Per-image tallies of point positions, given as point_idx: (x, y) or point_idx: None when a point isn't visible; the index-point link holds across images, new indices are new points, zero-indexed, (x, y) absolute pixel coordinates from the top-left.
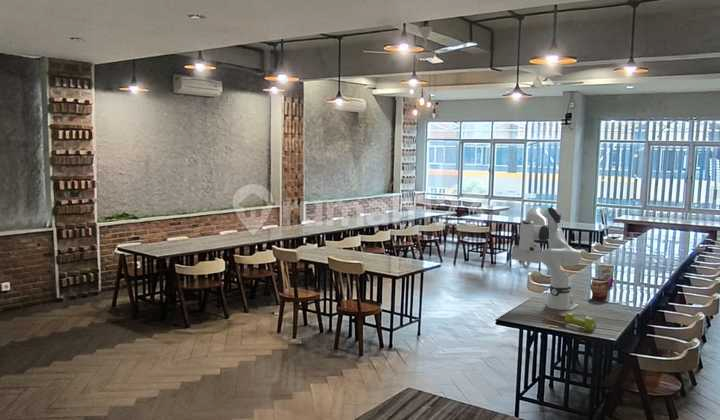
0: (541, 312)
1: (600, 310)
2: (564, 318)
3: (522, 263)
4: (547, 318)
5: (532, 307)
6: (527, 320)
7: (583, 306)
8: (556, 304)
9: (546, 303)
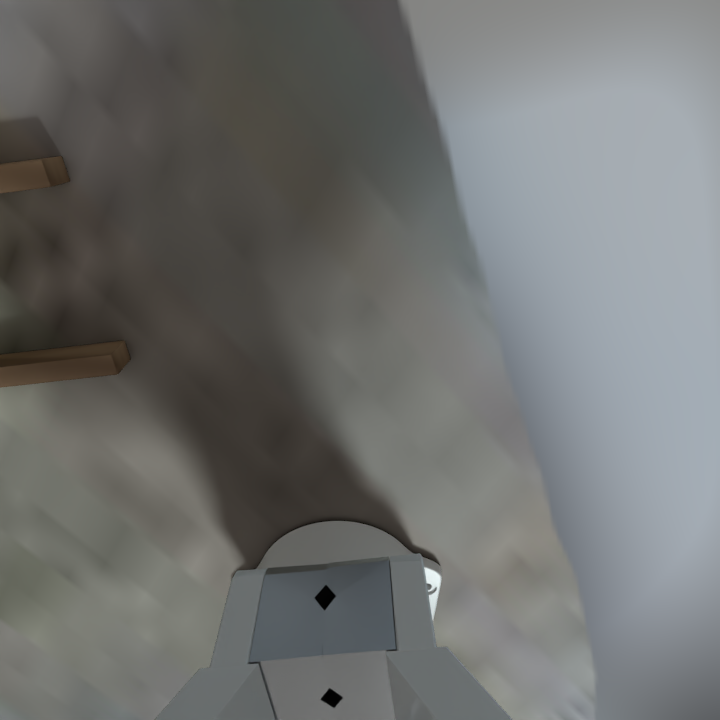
0: (304, 388)
1: (154, 694)
2: (20, 359)
3: None
4: (7, 184)
5: (447, 441)
6: (160, 54)
7: None
8: (302, 559)
9: (424, 567)
